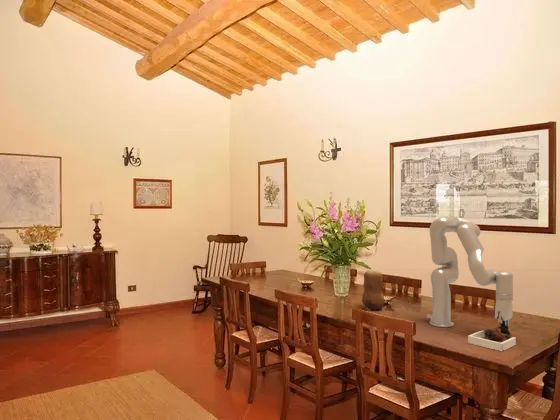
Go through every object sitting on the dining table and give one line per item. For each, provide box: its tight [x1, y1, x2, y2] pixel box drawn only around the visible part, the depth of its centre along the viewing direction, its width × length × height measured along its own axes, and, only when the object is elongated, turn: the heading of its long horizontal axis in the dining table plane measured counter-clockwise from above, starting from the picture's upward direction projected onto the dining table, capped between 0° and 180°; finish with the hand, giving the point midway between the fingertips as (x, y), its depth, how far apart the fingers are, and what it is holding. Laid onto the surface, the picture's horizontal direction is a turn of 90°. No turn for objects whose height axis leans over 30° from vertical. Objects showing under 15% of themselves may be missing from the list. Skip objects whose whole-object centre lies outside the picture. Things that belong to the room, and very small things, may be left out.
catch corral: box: [467, 329, 517, 352], centre depth 214 cm, size 16×14×4 cm
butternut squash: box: [361, 269, 385, 311], centre depth 284 cm, size 14×13×25 cm
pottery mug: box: [484, 325, 512, 342], centre depth 217 cm, size 12×9×8 cm
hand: (504, 333), depth 222 cm, fingers closed
